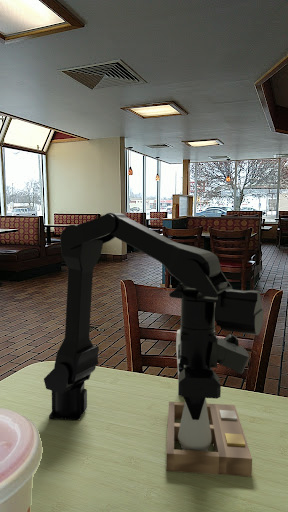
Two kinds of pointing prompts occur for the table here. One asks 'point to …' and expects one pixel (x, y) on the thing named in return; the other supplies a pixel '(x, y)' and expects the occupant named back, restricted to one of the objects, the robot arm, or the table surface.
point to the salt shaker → (195, 430)
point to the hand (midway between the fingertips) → (195, 413)
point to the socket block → (222, 436)
